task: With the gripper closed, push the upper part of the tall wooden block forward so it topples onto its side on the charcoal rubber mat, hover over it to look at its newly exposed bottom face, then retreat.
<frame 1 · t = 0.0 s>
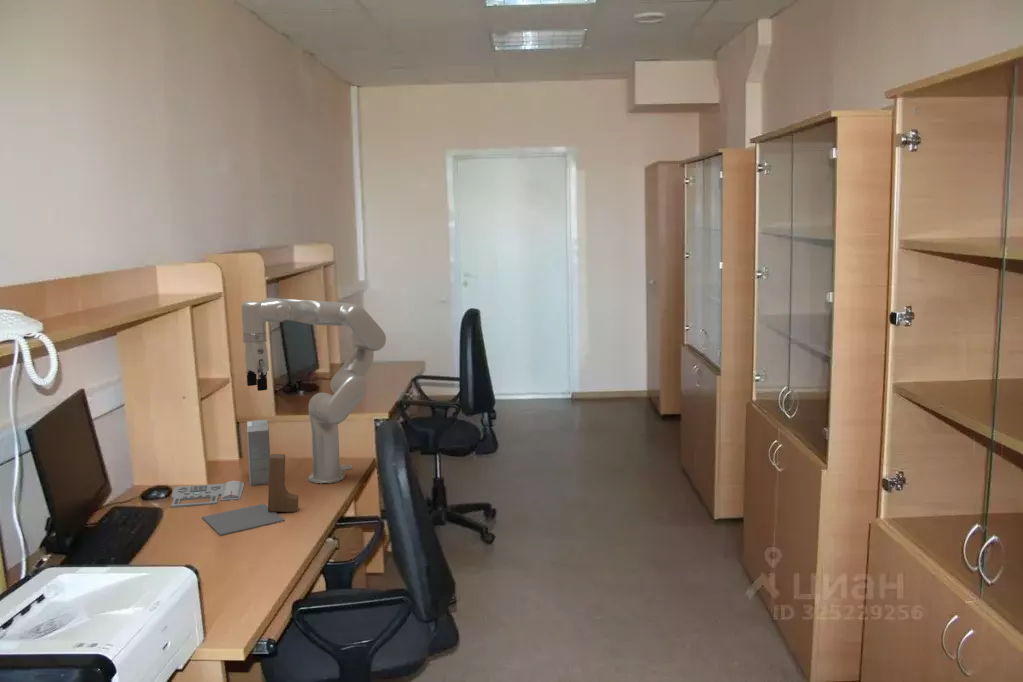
hand: (257, 387, 276), 37 cm above the table, tool pointing down, fingers open, 9 cm apart
wooden block: (283, 510, 263), on the table
office telephone: (207, 497, 278), on the table
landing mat: (243, 519, 256), on the table
hard drive box: (260, 478, 296), on the table
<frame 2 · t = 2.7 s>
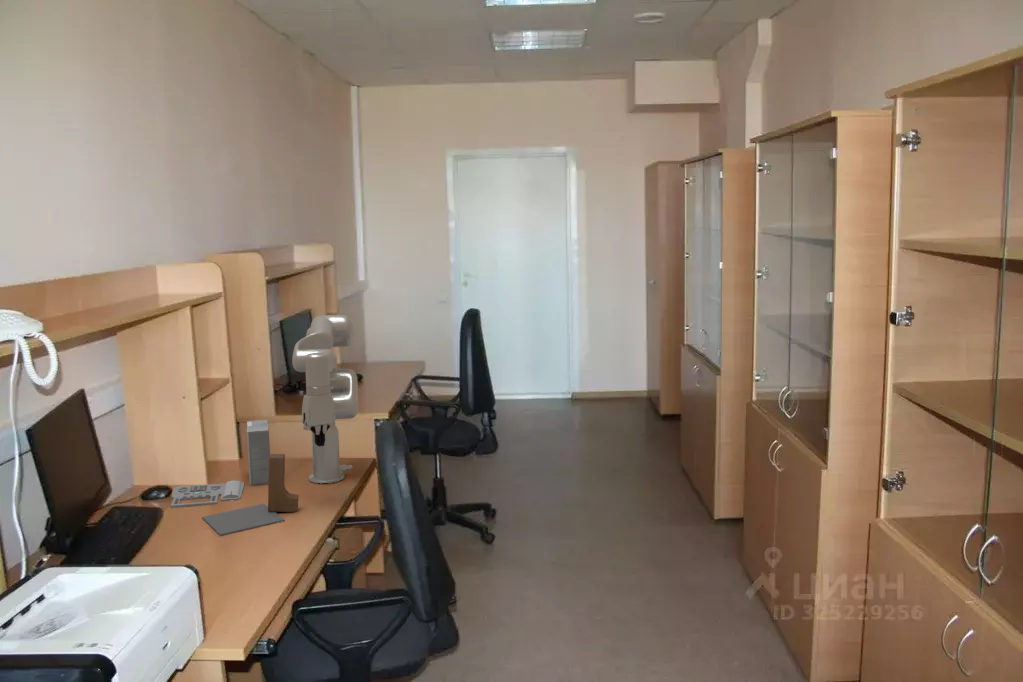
hand: (320, 445, 268), 20 cm above the table, tool pointing down, fingers closed
wooden block: (283, 510, 263), on the table, touching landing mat
everything else where it was.
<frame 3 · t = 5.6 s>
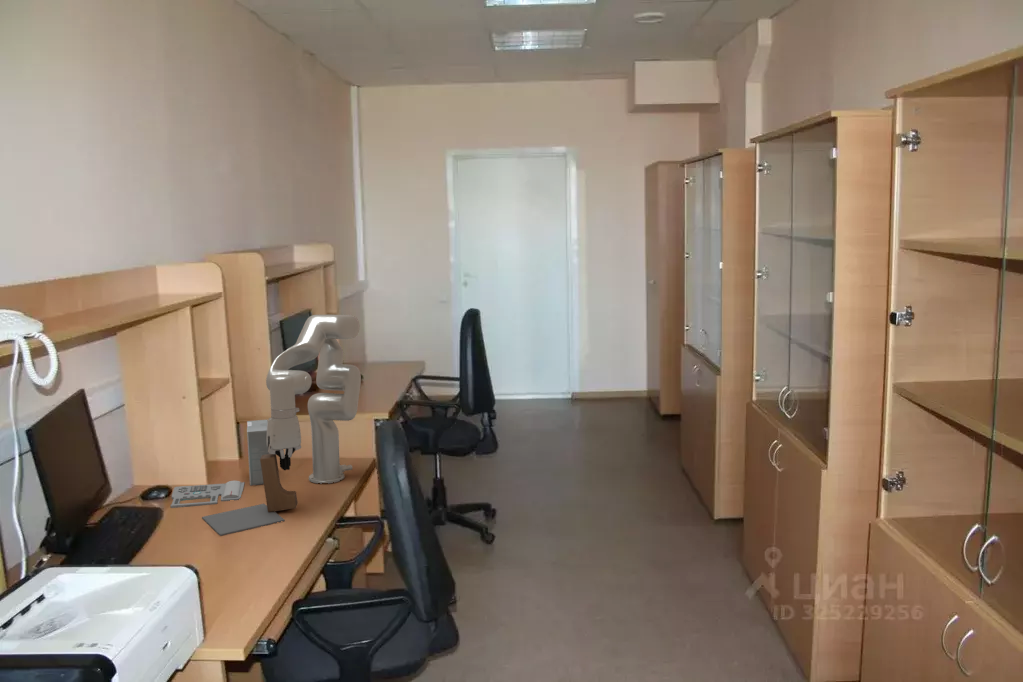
hand: (285, 468, 262), 14 cm above the table, tool pointing down, fingers closed
wooden block: (283, 508, 263), point 1 cm above the table, touching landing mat
everything else where it was.
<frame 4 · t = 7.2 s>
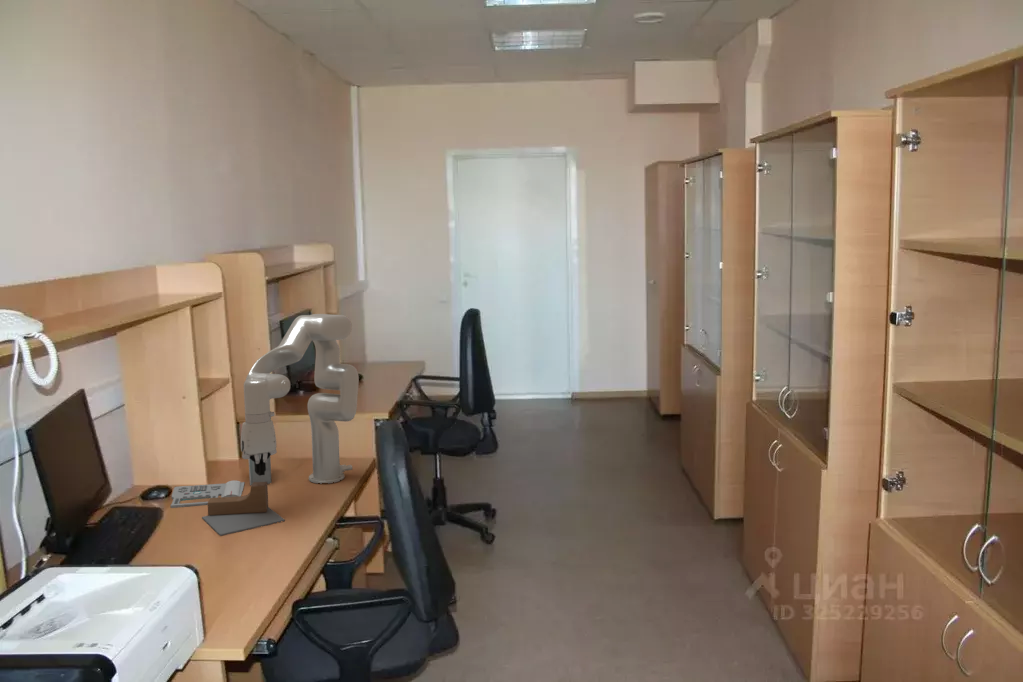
hand: (260, 474, 257), 14 cm above the table, tool pointing down, fingers closed
wooden block: (267, 496, 262), point 5 cm above the table, touching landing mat
everything else where it was.
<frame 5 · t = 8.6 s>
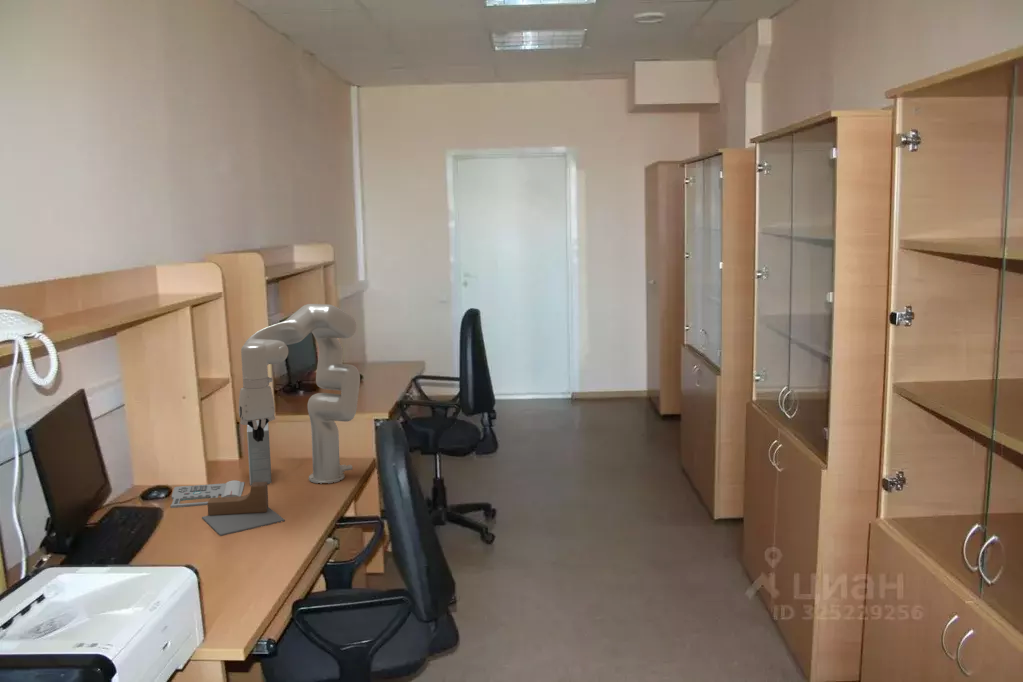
hand: (258, 440, 256), 25 cm above the table, tool pointing down, fingers closed
nothing on the table moved.
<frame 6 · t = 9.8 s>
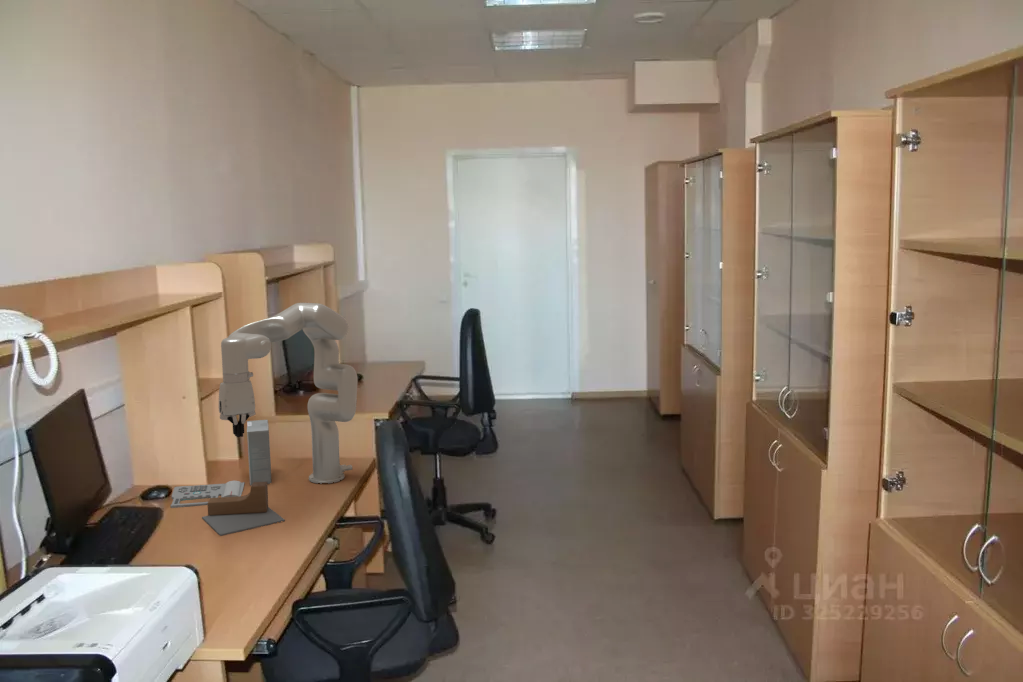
hand: (238, 436, 252), 27 cm above the table, tool pointing down, fingers closed
nothing on the table moved.
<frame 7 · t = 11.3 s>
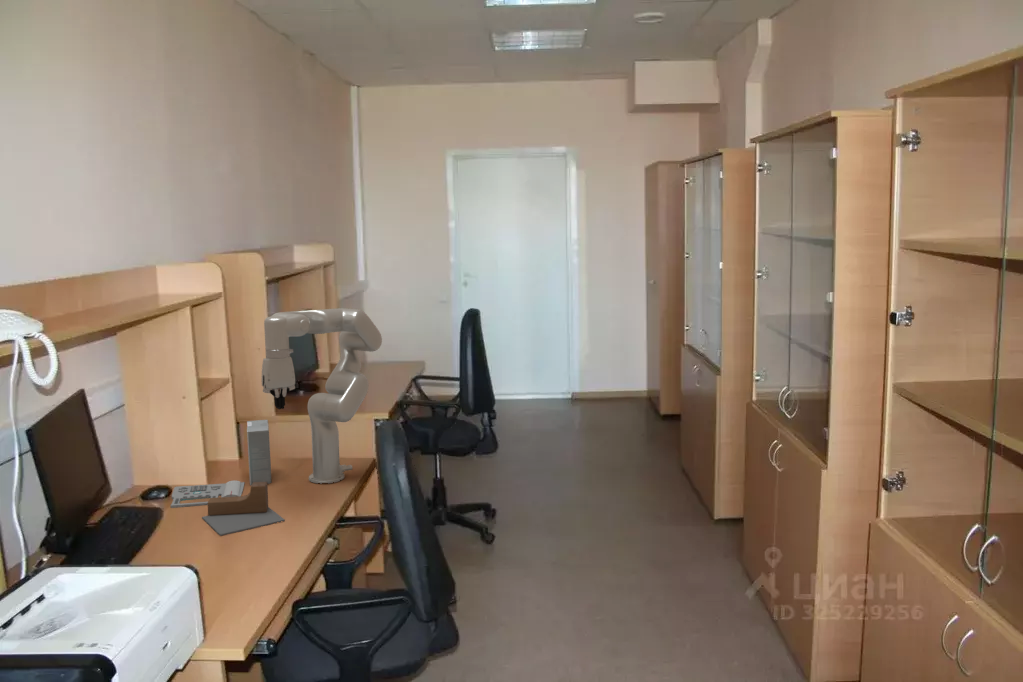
hand: (280, 408, 271), 31 cm above the table, tool pointing down, fingers closed
nothing on the table moved.
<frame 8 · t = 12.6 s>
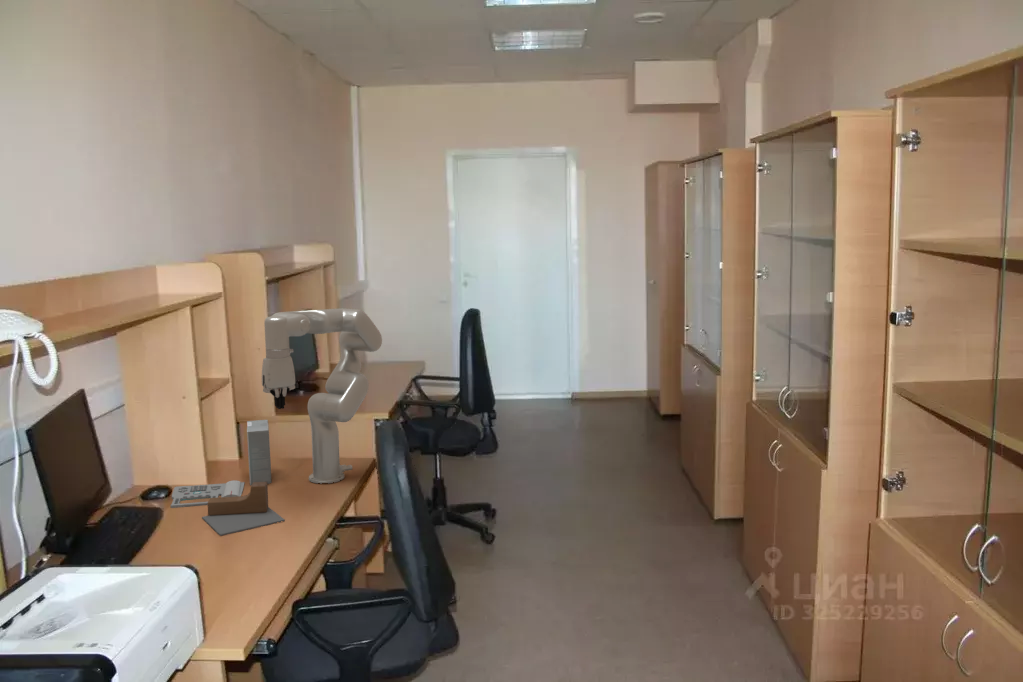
hand: (280, 408, 271), 31 cm above the table, tool pointing down, fingers closed
nothing on the table moved.
at the end: wooden block tilted 90°; wooden block touching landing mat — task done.
